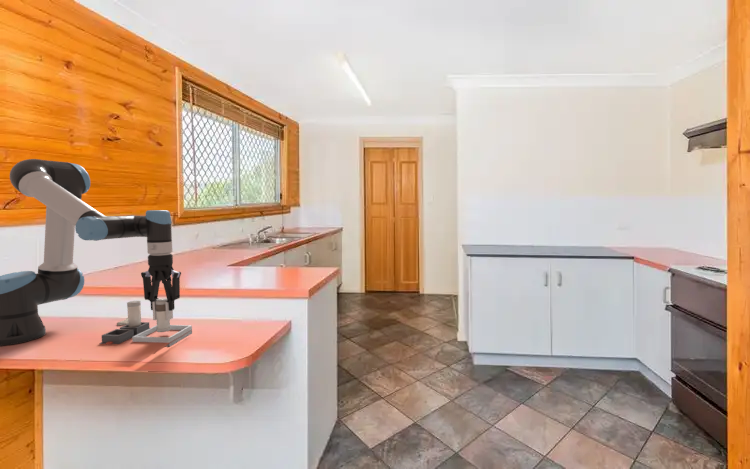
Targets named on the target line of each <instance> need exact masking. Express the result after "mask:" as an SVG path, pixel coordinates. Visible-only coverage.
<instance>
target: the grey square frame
mask: <svg viewBox="0 0 750 469" xmlns="http://www.w3.org/2000/svg"><path fill="white" fill-rule="evenodd" d="M149 328H150V329H148V330H146V331H144V332H142V333H139V334H137V335H135V336H133V337H132V338H131V340H132V342H134V343H167V344H166V345H165V346H164V348H170V347H172V346H174V345H175V344H177V343H179V342H180V341H182V340H184V339H186V338H187V337H189V336H191V335H192V334H193V326H192V324H191V325H190V324H187V325H185V324H184V325H183V324H170V330H169V331H173V330H174V331H177V332H176V333H174V334H172V335H171V336H169V337H168V336H166V337H165V336H148V335H150V334H152V333H154V332H157V324H156V325H154V326H151V327H149Z"/></svg>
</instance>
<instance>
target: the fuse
mask: <svg viewBox="0 0 750 469" xmlns="http://www.w3.org/2000/svg"><path fill="white" fill-rule="evenodd" d="M141 303H142V302H141V300H132V301H128V302H126V307H127V309H126V310H127V318H128V327H138V326H140V325H141V322H142V313H141V312H142V311H141V310H142V308H141V307H142V306H141Z"/></svg>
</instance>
